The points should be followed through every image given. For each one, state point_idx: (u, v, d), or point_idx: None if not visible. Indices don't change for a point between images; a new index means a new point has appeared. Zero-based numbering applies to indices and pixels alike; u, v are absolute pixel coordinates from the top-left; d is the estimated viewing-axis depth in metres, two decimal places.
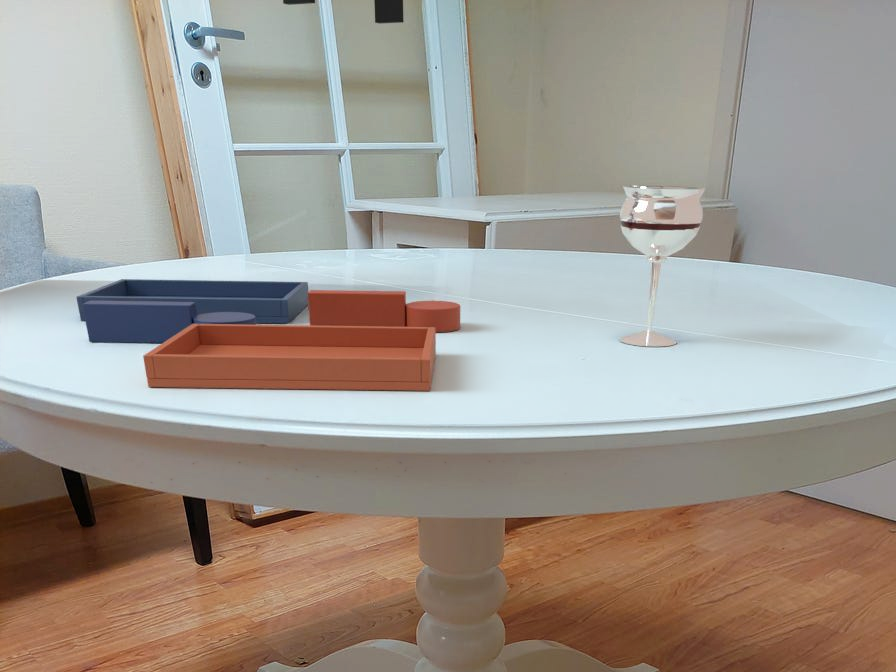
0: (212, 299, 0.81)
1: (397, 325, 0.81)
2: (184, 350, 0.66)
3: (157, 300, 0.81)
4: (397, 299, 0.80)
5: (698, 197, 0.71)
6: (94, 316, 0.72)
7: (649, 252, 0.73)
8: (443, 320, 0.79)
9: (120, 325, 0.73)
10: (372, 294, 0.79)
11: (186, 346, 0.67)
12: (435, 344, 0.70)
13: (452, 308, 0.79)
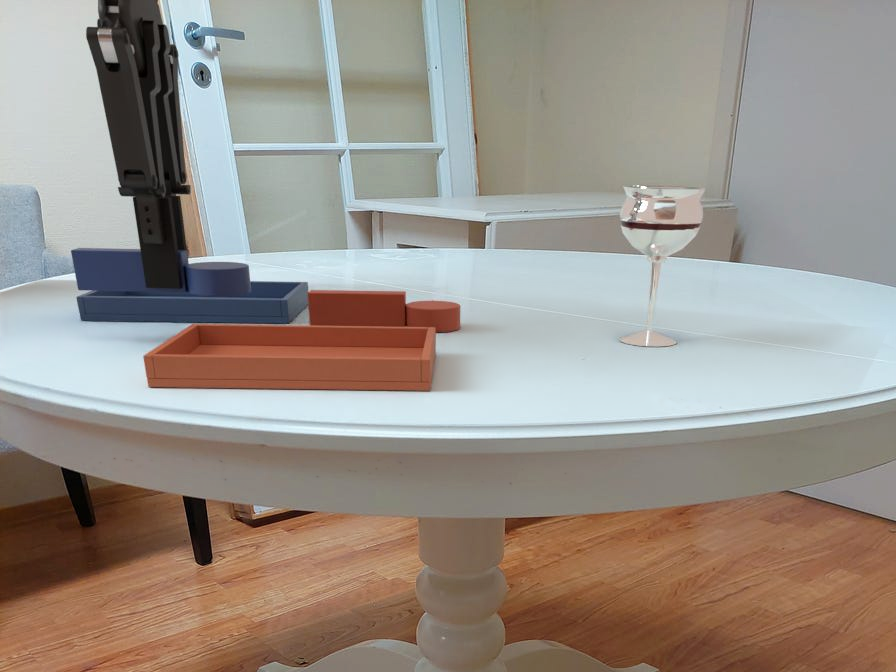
0: (212, 299, 0.81)
1: (397, 325, 0.81)
2: (184, 350, 0.66)
3: (157, 300, 0.81)
4: (397, 299, 0.80)
5: (698, 197, 0.71)
6: (83, 263, 0.70)
7: (649, 252, 0.73)
8: (443, 320, 0.79)
9: (110, 273, 0.71)
10: (372, 294, 0.79)
11: (186, 346, 0.67)
12: (435, 344, 0.70)
13: (452, 308, 0.79)
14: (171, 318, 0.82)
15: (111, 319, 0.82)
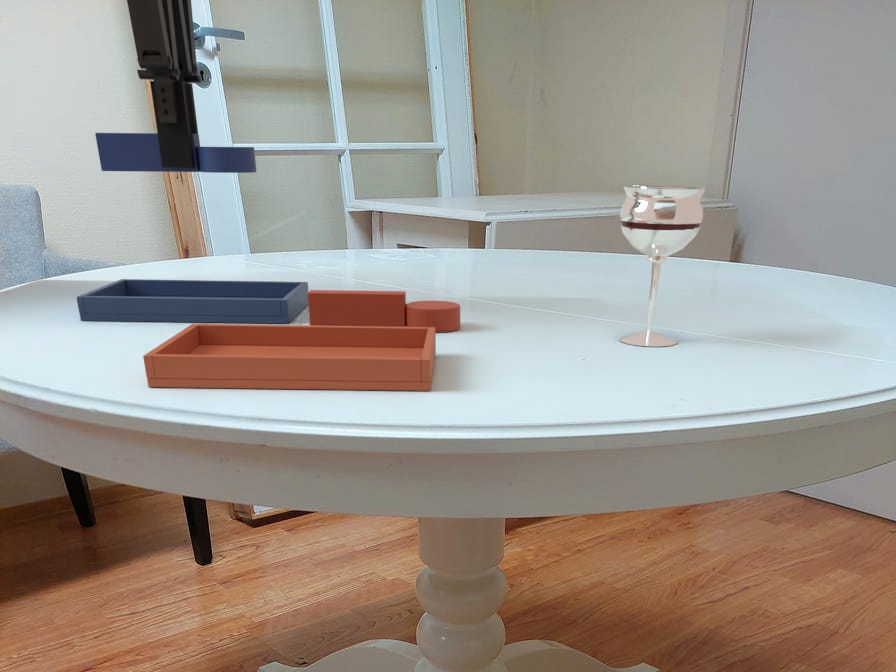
0: (212, 299, 0.81)
1: (397, 325, 0.81)
2: (184, 350, 0.66)
3: (157, 300, 0.81)
4: (397, 299, 0.80)
5: (698, 197, 0.71)
6: (106, 145, 0.79)
7: (649, 252, 0.73)
8: (443, 320, 0.79)
9: (130, 154, 0.79)
10: (372, 294, 0.79)
11: (186, 346, 0.67)
12: (435, 344, 0.70)
13: (452, 308, 0.79)
14: (171, 318, 0.82)
15: (111, 319, 0.82)
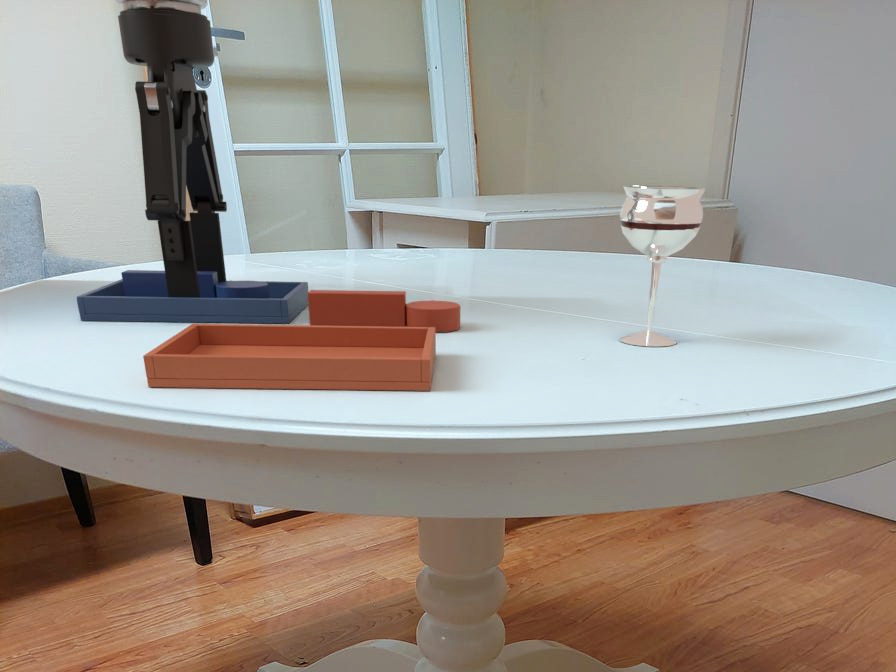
0: (212, 299, 0.81)
1: (397, 325, 0.81)
2: (184, 350, 0.66)
3: (157, 300, 0.81)
4: (397, 299, 0.80)
5: (698, 197, 0.71)
6: (131, 283, 0.85)
7: (649, 252, 0.73)
8: (443, 320, 0.79)
9: (153, 291, 0.85)
10: (372, 294, 0.79)
11: (186, 346, 0.67)
12: (435, 344, 0.70)
13: (452, 308, 0.79)
14: (171, 318, 0.82)
15: (111, 319, 0.82)
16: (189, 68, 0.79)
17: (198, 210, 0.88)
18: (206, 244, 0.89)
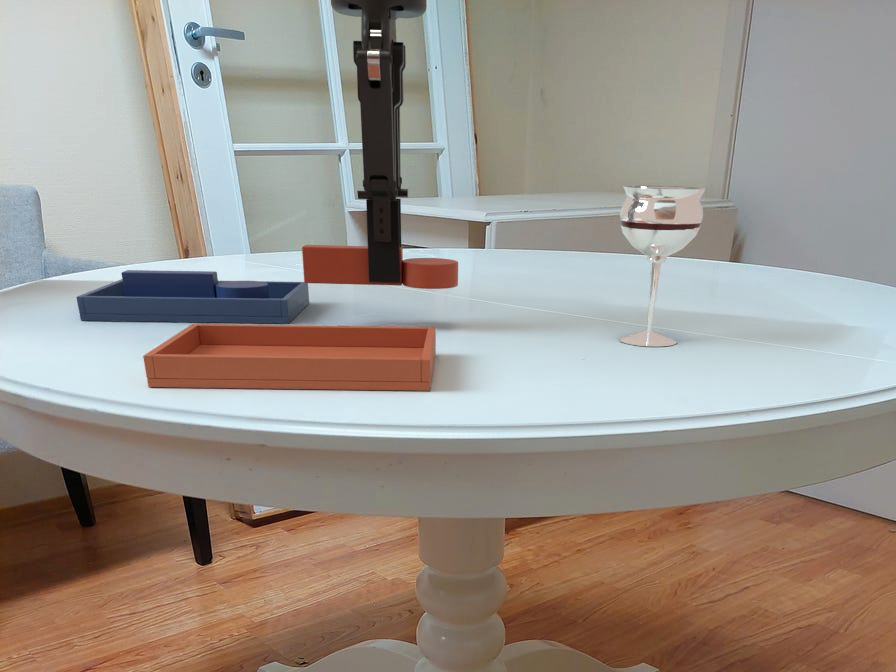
0: (212, 299, 0.81)
1: None
2: (184, 350, 0.66)
3: (157, 300, 0.81)
4: None
5: (698, 197, 0.71)
6: (131, 283, 0.85)
7: (649, 252, 0.73)
8: (440, 276, 0.77)
9: (153, 291, 0.85)
10: None
11: (186, 346, 0.67)
12: (435, 344, 0.70)
13: (450, 264, 0.78)
14: (171, 318, 0.82)
15: (111, 319, 0.82)
16: (394, 18, 0.72)
17: None
18: None
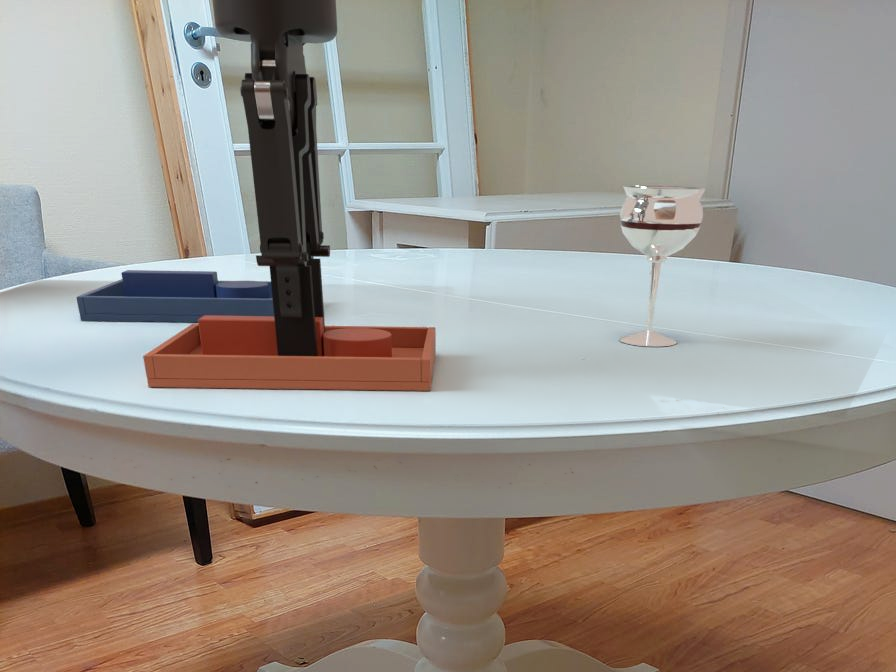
0: (212, 299, 0.81)
1: None
2: (184, 350, 0.66)
3: (157, 300, 0.81)
4: None
5: (698, 197, 0.71)
6: (131, 283, 0.85)
7: (649, 252, 0.73)
8: (368, 354, 0.63)
9: (153, 291, 0.85)
10: None
11: (186, 346, 0.67)
12: (435, 344, 0.70)
13: (379, 339, 0.63)
14: (171, 318, 0.82)
15: (111, 319, 0.82)
16: (300, 44, 0.58)
17: None
18: None
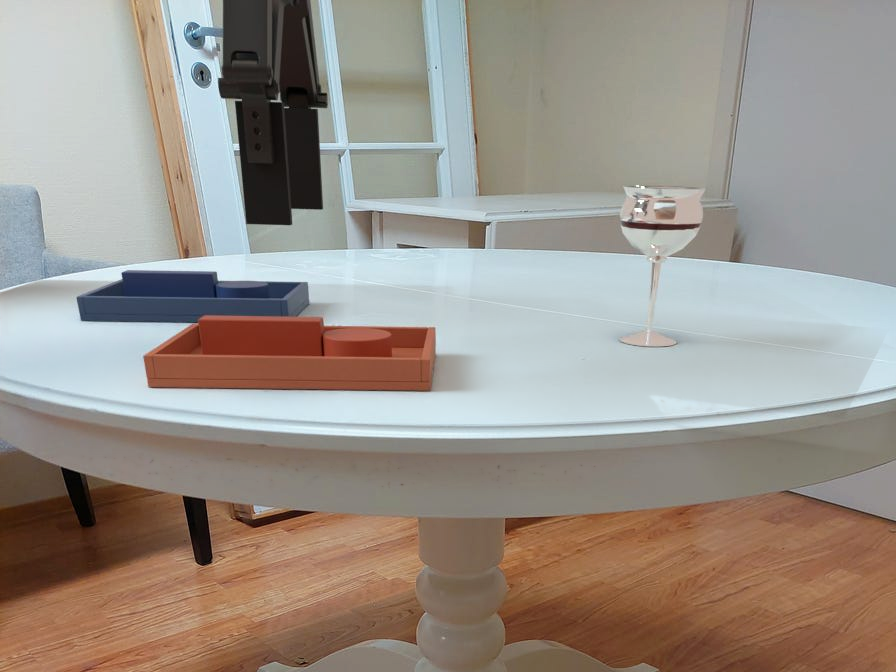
0: (212, 299, 0.81)
1: None
2: (184, 350, 0.66)
3: (157, 300, 0.81)
4: (311, 327, 0.63)
5: (698, 197, 0.71)
6: (131, 283, 0.85)
7: (649, 252, 0.73)
8: (368, 354, 0.63)
9: (153, 291, 0.85)
10: (279, 321, 0.63)
11: (186, 346, 0.67)
12: (435, 344, 0.70)
13: (379, 339, 0.63)
14: (171, 318, 0.82)
15: (111, 319, 0.82)
16: None
17: (290, 105, 0.64)
18: (299, 153, 0.65)
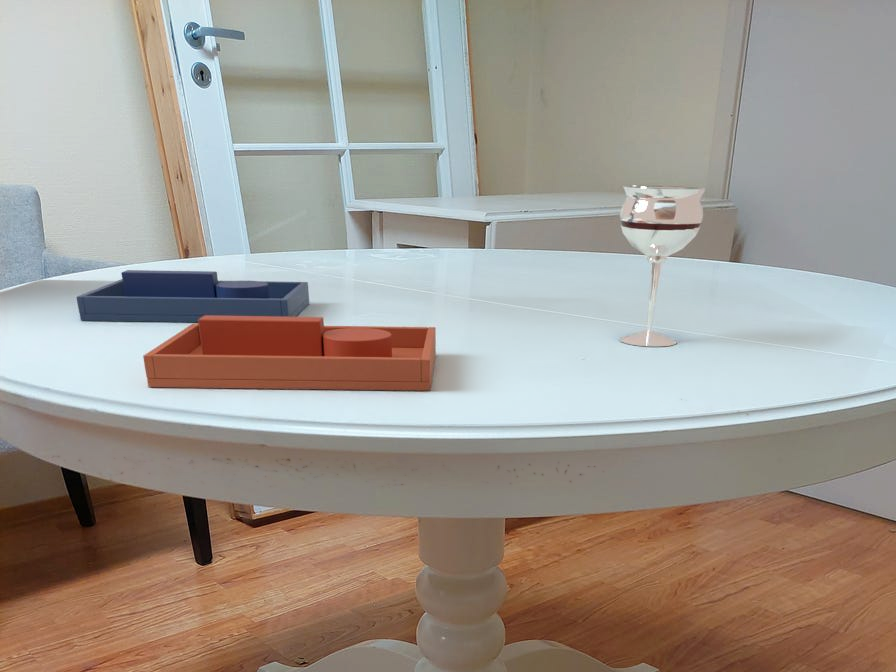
0: (212, 299, 0.81)
1: None
2: (184, 350, 0.66)
3: (157, 300, 0.81)
4: (311, 327, 0.63)
5: (698, 197, 0.71)
6: (131, 283, 0.85)
7: (649, 252, 0.73)
8: (368, 354, 0.63)
9: (153, 291, 0.85)
10: (279, 321, 0.63)
11: (186, 346, 0.67)
12: (435, 344, 0.70)
13: (379, 339, 0.63)
14: (171, 318, 0.82)
15: (111, 319, 0.82)
16: None
17: None
18: None
